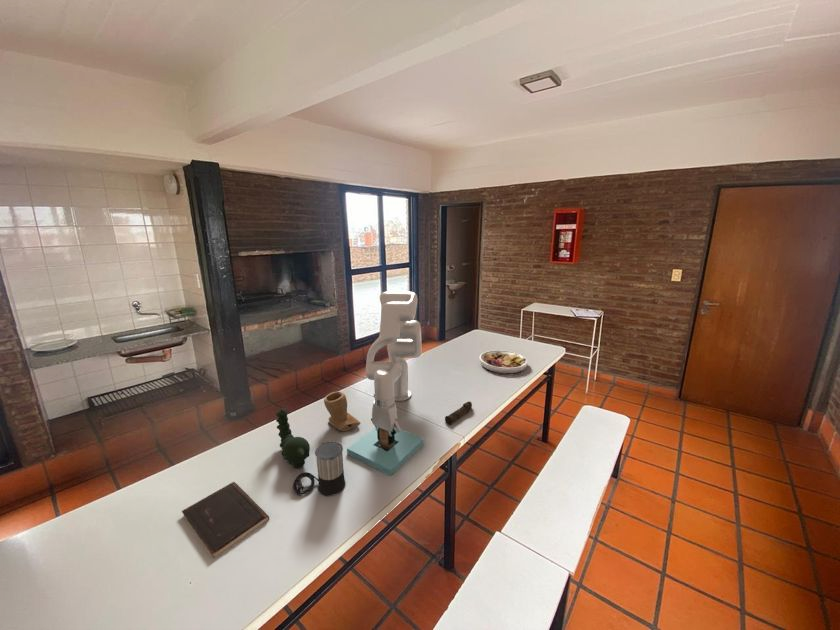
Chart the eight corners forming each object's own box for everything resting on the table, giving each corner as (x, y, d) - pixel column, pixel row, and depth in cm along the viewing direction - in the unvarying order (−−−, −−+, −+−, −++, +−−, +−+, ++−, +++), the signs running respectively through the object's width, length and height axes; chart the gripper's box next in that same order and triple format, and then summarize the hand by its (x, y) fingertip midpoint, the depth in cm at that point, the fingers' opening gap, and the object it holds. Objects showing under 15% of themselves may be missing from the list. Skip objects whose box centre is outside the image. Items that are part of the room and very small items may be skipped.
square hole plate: (347, 453, 132) (346, 448, 131) (382, 426, 150) (382, 421, 149) (390, 475, 120) (390, 470, 120) (423, 443, 138) (423, 438, 137)
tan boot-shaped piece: (321, 422, 154) (319, 392, 150) (345, 413, 161) (343, 384, 157) (337, 437, 142) (334, 406, 138) (361, 427, 150) (359, 397, 146)
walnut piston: (377, 446, 134) (376, 429, 132) (385, 440, 138) (384, 423, 136) (387, 451, 131) (386, 433, 129) (394, 444, 135) (394, 427, 133)
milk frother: (350, 486, 115) (348, 450, 112) (307, 512, 105) (303, 473, 101) (330, 466, 125) (327, 431, 122) (289, 487, 115) (284, 450, 111)
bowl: (490, 353, 236) (491, 343, 234) (533, 363, 219) (534, 352, 217) (471, 367, 213) (471, 356, 211) (517, 380, 196) (517, 367, 194)
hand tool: (451, 426, 150) (451, 417, 149) (444, 422, 153) (444, 413, 152) (476, 410, 163) (476, 402, 162) (469, 407, 166) (469, 399, 165)
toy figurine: (273, 450, 137) (292, 481, 117) (267, 408, 133) (285, 432, 113) (296, 442, 142) (318, 470, 122) (291, 400, 139) (312, 422, 119)
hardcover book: (213, 560, 91) (212, 553, 90) (183, 516, 104) (181, 510, 104) (269, 520, 103) (268, 514, 102) (235, 486, 116) (234, 480, 116)
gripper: (361, 398, 131) (364, 438, 136) (396, 410, 122) (397, 453, 127) (374, 390, 137) (376, 429, 142) (408, 402, 128) (408, 443, 133)
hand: (386, 440), depth 134 cm, fingers closed on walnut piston, 4 cm apart
